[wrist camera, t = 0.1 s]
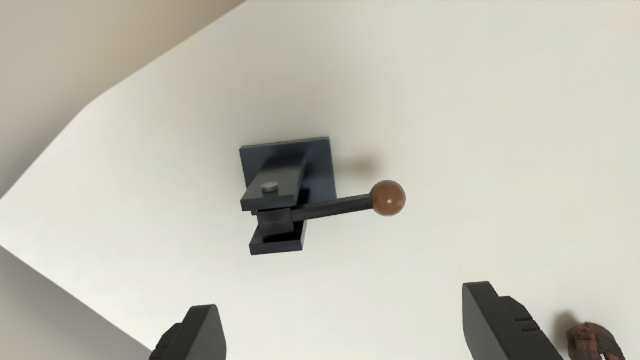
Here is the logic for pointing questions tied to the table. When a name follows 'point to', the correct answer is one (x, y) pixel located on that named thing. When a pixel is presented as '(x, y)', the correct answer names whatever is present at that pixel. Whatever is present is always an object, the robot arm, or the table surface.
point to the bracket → (286, 185)
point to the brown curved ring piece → (592, 343)
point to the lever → (333, 208)
